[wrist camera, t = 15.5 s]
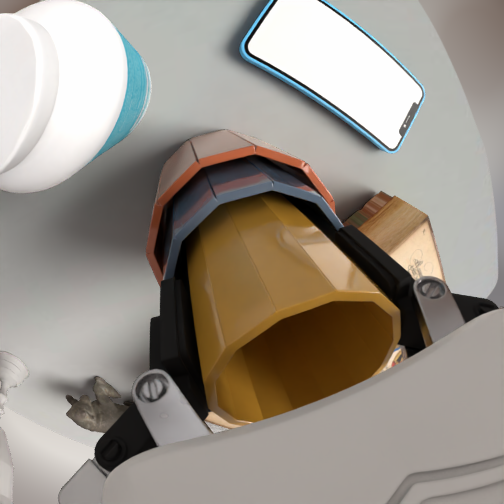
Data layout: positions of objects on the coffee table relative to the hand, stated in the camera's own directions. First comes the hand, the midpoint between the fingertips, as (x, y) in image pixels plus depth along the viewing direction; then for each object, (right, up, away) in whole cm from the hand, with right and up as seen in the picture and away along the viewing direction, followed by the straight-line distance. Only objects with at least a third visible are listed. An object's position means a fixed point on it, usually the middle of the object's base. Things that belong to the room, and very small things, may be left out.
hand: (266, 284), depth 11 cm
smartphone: (+6, +15, +6) cm, 18 cm away
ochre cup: (-2, +3, +6) cm, 7 cm away
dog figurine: (-17, -15, +17) cm, 28 cm away
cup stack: (-3, +5, +9) cm, 11 cm away
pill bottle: (-11, +12, +4) cm, 16 cm away
